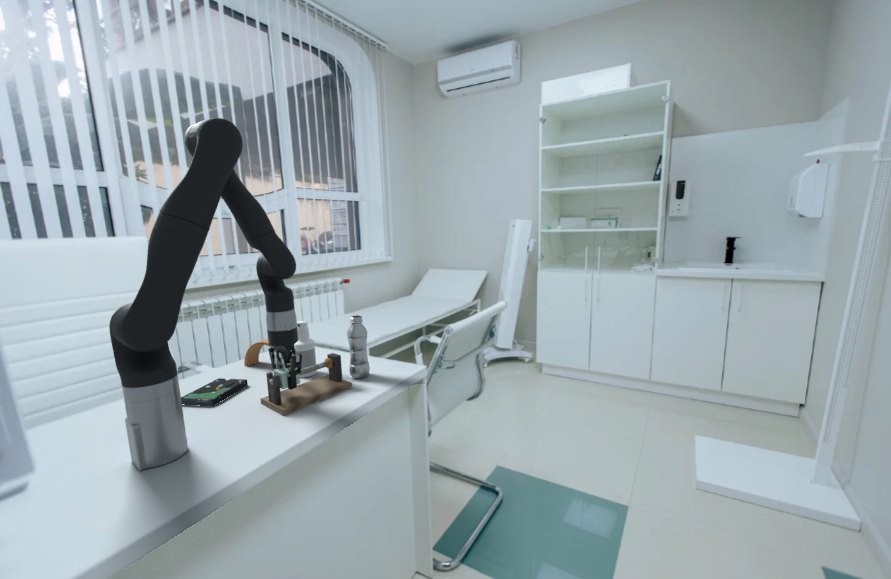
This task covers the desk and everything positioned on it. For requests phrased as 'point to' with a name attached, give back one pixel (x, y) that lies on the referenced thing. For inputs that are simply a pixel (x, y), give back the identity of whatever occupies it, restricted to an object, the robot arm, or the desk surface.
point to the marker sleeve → (285, 377)
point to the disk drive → (214, 392)
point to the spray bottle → (305, 348)
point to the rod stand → (306, 387)
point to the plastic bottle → (358, 348)
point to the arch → (255, 353)
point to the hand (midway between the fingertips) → (287, 386)
